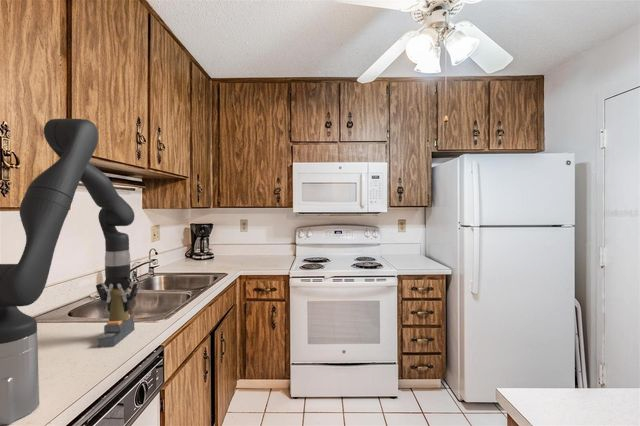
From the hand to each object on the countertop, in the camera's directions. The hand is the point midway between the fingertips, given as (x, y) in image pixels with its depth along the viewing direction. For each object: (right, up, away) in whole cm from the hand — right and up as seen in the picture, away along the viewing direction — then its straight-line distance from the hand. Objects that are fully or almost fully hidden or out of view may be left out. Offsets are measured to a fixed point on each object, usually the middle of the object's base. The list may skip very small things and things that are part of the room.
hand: (118, 311), depth 115 cm
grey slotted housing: (0, -9, -1) cm, 9 cm away
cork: (0, -2, 0) cm, 2 cm away
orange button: (0, -4, 0) cm, 4 cm away
